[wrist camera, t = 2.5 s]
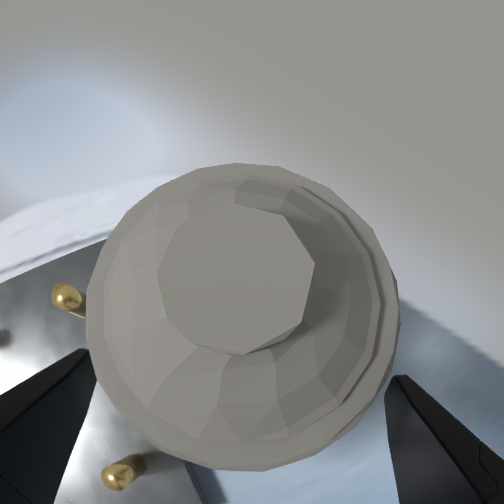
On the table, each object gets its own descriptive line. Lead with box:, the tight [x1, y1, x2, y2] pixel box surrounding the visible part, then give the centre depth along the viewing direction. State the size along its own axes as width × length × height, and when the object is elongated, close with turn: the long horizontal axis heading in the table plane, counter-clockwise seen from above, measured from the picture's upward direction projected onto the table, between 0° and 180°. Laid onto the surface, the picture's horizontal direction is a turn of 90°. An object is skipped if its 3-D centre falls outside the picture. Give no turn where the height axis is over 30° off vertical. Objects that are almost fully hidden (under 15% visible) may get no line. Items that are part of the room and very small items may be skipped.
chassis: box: [0, 239, 208, 504], centre depth 14 cm, size 18×16×4 cm
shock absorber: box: [86, 163, 400, 472], centre depth 11 cm, size 6×6×15 cm
